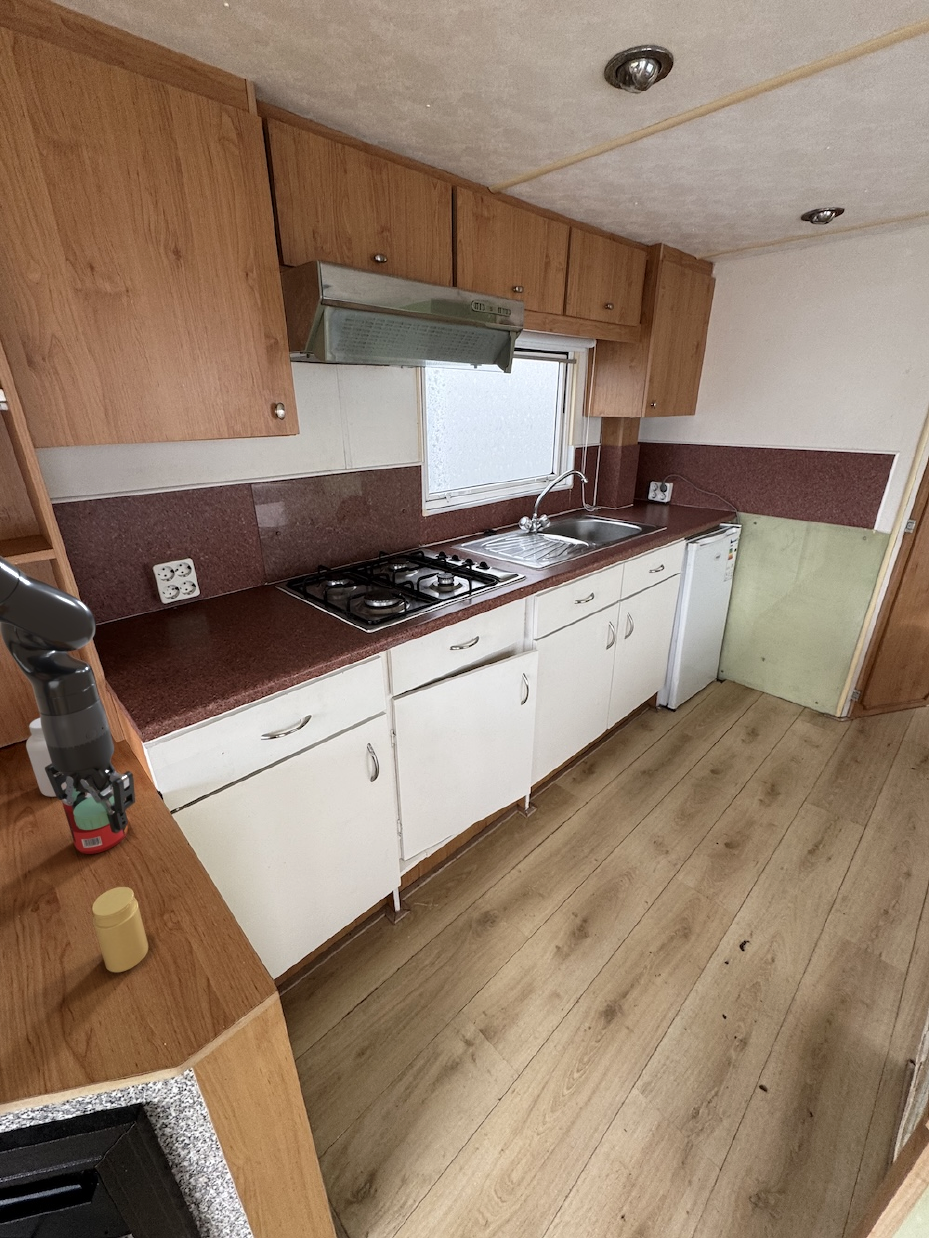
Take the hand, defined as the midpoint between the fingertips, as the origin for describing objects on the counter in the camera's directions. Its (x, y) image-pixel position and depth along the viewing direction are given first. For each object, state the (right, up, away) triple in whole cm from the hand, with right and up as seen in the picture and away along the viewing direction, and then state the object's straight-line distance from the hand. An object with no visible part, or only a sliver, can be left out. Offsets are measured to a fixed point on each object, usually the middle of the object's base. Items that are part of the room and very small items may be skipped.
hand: (102, 824), depth 83 cm
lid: (0, +3, -1) cm, 4 cm away
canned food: (-9, -8, +13) cm, 17 cm away
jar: (+9, -15, -8) cm, 19 cm away
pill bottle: (-25, -2, +26) cm, 37 cm away
